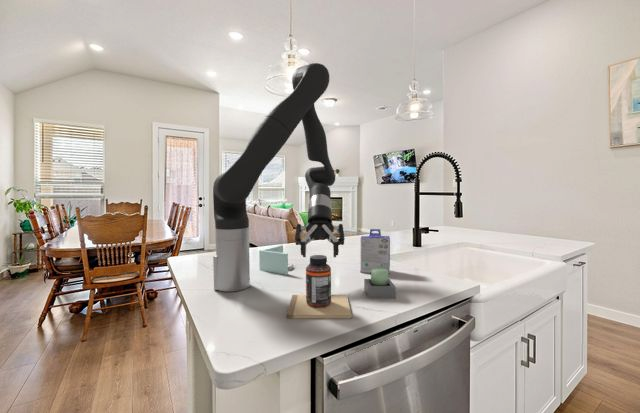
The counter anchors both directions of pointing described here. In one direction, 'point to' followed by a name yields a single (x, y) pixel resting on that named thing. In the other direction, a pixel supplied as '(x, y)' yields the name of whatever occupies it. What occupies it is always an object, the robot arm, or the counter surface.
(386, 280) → the button
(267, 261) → the l-shaped corner panel
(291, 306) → the sketchbook
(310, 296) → the supplement bottle
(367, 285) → the button housing
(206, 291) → the counter surface
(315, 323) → the counter surface
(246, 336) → the counter surface
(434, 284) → the counter surface
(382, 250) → the ink cartridge box
